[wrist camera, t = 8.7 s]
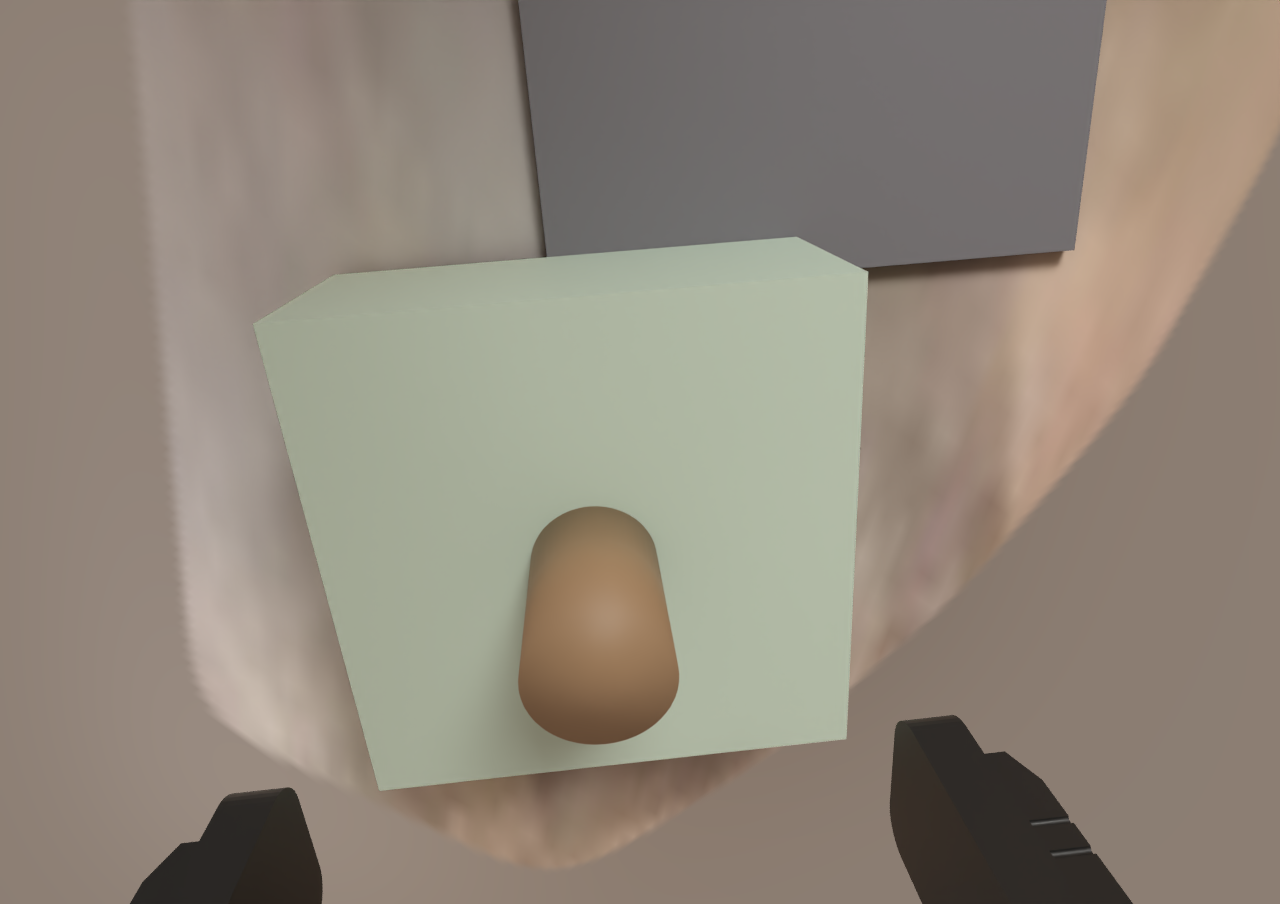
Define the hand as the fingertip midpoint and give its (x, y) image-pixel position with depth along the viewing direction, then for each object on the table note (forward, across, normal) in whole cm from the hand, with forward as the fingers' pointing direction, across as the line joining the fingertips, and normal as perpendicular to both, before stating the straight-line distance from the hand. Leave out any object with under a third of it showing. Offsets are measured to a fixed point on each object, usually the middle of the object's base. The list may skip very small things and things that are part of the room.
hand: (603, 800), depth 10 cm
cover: (+12, 0, 0) cm, 12 cm away
